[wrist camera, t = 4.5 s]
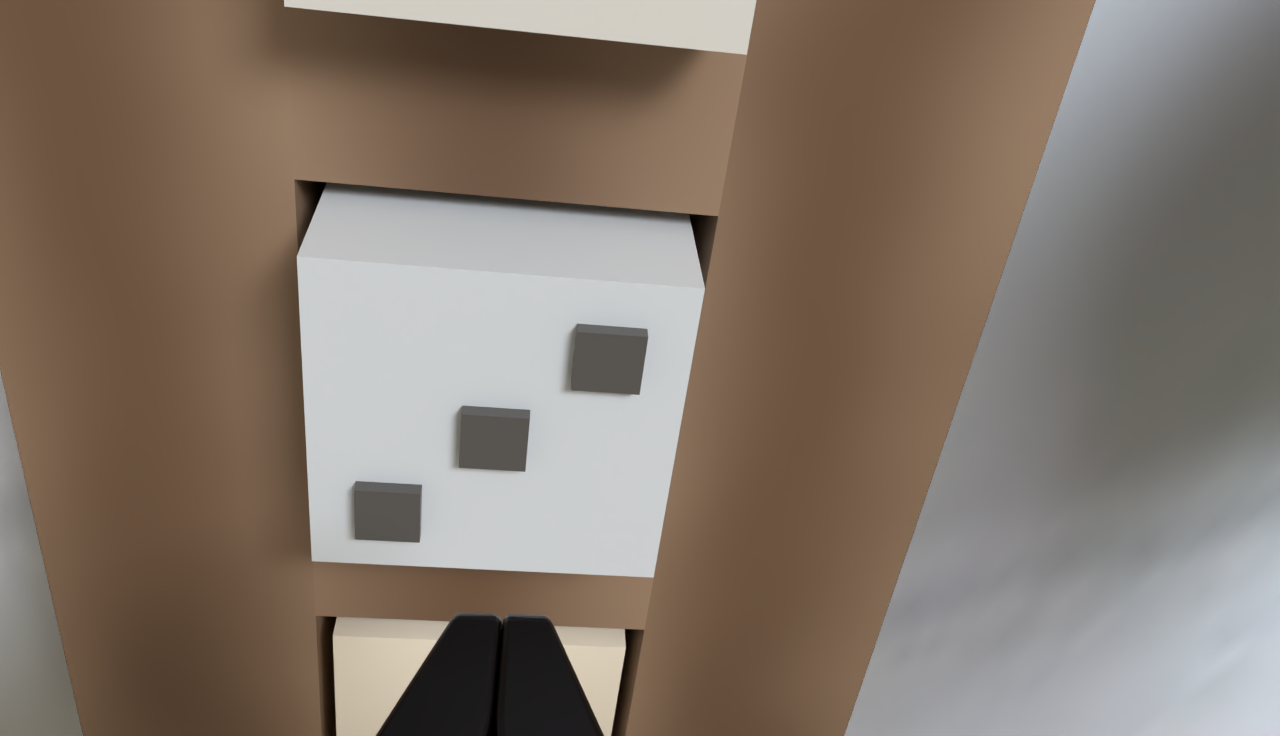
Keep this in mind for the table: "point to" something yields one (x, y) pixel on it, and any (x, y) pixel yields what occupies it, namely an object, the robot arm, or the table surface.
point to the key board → (521, 169)
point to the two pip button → (579, 18)
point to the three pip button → (493, 379)
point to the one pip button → (396, 648)
